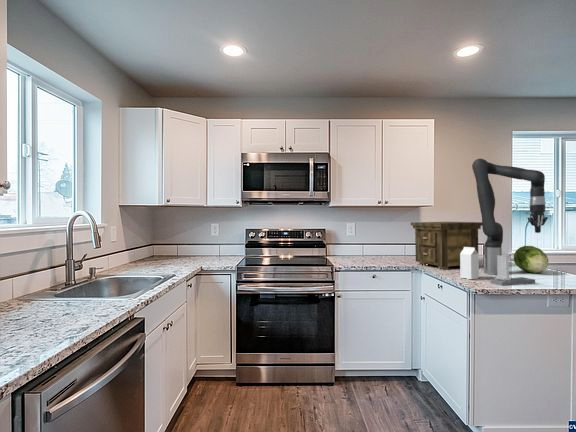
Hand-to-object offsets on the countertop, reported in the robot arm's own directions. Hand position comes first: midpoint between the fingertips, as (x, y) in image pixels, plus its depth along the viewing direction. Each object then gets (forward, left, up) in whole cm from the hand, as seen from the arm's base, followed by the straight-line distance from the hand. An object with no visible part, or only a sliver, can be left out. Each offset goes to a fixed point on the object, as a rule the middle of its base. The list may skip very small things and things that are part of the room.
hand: (537, 232), depth 206 cm
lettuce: (-9, +15, -27) cm, 32 cm away
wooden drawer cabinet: (-59, -2, -27) cm, 65 cm away
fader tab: (-3, -36, -25) cm, 44 cm away
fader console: (-1, -30, -27) cm, 40 cm away
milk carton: (-22, -36, -27) cm, 50 cm away
